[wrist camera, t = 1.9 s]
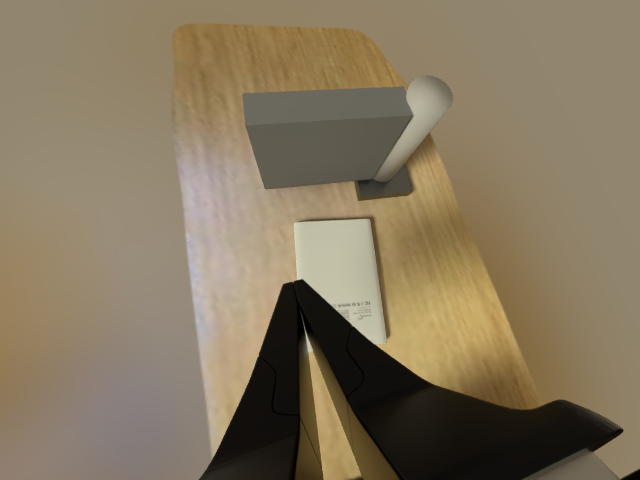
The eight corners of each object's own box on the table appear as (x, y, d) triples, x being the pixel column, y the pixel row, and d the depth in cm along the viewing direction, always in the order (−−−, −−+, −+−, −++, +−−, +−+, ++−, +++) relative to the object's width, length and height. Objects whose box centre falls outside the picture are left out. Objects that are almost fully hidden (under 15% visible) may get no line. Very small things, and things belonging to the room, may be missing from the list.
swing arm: (398, 180, 25) (458, 111, 16) (265, 193, 23) (243, 124, 14) (391, 155, 26) (445, 74, 17) (262, 166, 24) (240, 82, 15)
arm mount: (408, 195, 26) (412, 191, 25) (358, 200, 26) (360, 197, 25) (396, 150, 28) (399, 144, 27) (348, 154, 27) (350, 148, 26)
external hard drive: (366, 223, 26) (382, 340, 23) (293, 226, 25) (300, 349, 22) (370, 218, 24) (389, 343, 21) (293, 221, 23) (301, 353, 20)
